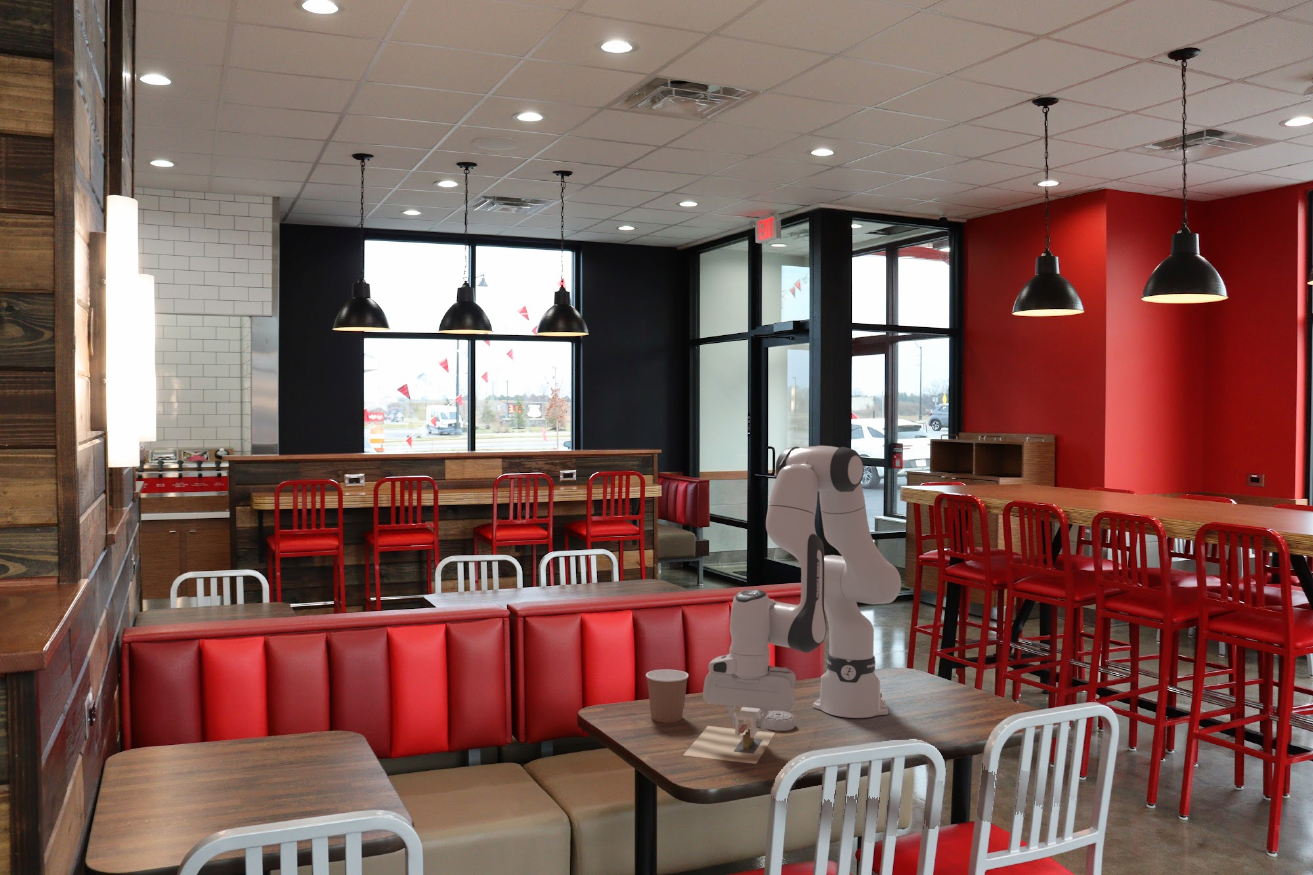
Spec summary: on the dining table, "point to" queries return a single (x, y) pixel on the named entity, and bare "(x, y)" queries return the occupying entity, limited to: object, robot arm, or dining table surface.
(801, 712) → the dining table surface
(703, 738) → the board
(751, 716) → the box
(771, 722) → the mechanical component
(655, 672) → the coffee cup
